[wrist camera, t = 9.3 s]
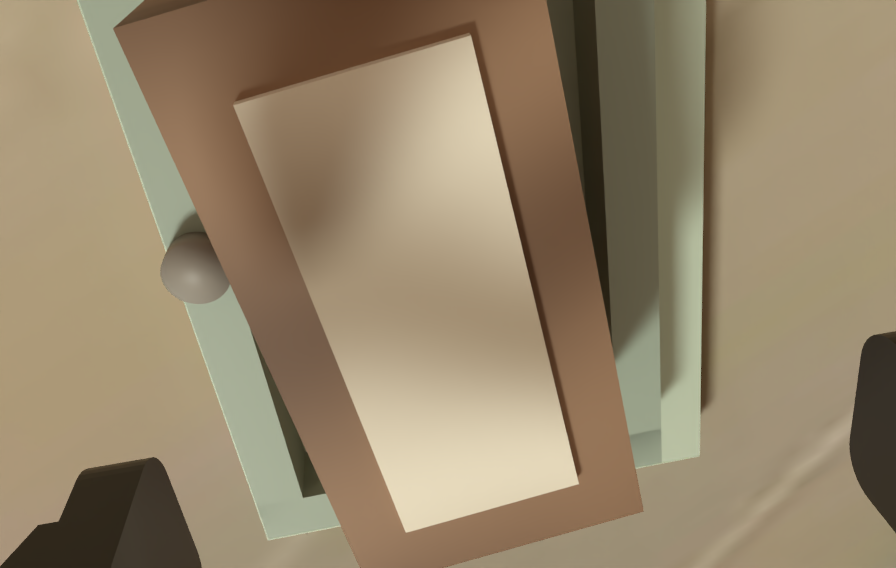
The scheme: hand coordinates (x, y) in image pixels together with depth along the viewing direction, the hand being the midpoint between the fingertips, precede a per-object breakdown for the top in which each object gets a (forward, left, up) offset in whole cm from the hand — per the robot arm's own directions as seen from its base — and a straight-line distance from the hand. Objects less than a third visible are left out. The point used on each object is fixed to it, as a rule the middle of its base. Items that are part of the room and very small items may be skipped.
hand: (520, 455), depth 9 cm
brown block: (0, +1, -8) cm, 8 cm away
